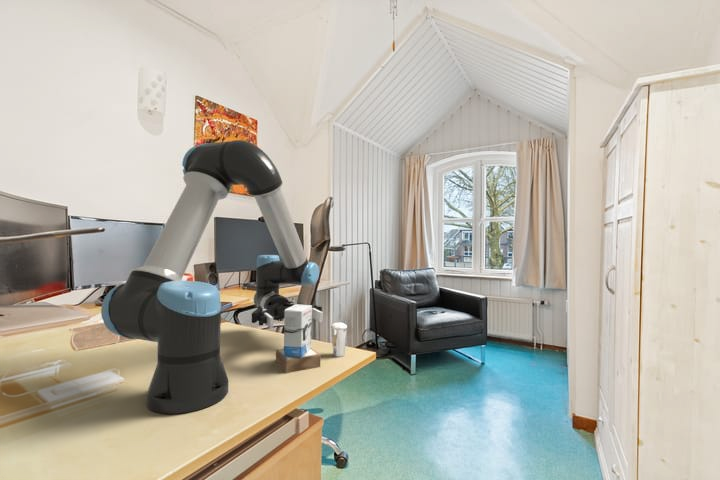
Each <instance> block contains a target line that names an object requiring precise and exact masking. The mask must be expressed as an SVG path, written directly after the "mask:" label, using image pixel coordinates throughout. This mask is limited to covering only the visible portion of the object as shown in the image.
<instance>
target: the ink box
mask: <svg viewBox="0 0 720 480" xmlns="http://www.w3.org/2000/svg"><path fill="white" fill-rule="evenodd" d="M294 304H295V305H293V306H291V307H289V308H287V309H285V311H284V318H283V319H284V322H283V323H284V324H283V325H284V326H283V328H284V330H283V332H284V333H283V334H284V335H283V348H284V356H289V357H302V356H303V355H304V354H305V353H306V352H307V351H308V350H309V349H310V348H312V331H313V330H312V328H313V327H312V326H313V325H312V324H313V323H312V319H313V318H312V305H313V304H311V305H310V304H306V305H300V304H298V303H297V304H296V303H294Z"/></svg>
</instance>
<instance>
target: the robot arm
mask: <svg viewBox="0 0 720 480" xmlns="http://www.w3.org/2000/svg"><path fill="white" fill-rule="evenodd" d="M181 166H182V167H183V169H182V173H183V176H182V177H183V182H184V183H185V186H184V188H183V191H182V192H181V195H180V196H179V197H178V199H177V202H176V204H175V206H174V208H173V209H172V212H171V213H170V215H169V217H168V218H167V221H166V222H165V224H164V225H163V228H162V230H161V232H160V233H159V236H158V238H157V240H156V241H155V243H154V244H153V247H152V249H151V251H150V252H149V255H148V256H147V258H146V260H145V262H144V264H143V265H142V266H140V267H137V268H134V269H132V270H131V272H130V274H129V276H128V277H127V279H126V281H125V283H121V284H118V285H117V286H115V287H113V288H111V289H110V290H109V291H108V293H106V295H105V297H103V298H104V299H103V300H102V304H101V310H100V314H101V318H102V320H103V321H102V322H103V324H104V326H105V327H106V329H107V330H109V332H111V333H113V334H114V335H117V336H121V337H123V338H125V339H126V338H127V339H129V340H136V339H137V340H142V341H147V342H152V343H153V342H154V343H157V363H156V364H157V365H156V367H155V369H154V372H153V375H152V378H151V379H150V380H151V381H150V384H149V386H148V388H147V389H148V390H147V391H146V392H147V393H146V406H147V408H148V409H149V410H150V411H152V412H154V413H159V414H165V415H167V414H172V415H174V414H175V415H176V414H183V413H184V414H185V413H190V412H194V411H198V410H202V409H205V408H208V407H211V406H213V405H214V404H217V403H219V402H220V401H222V400H223V399H224V398H225V397H226V396H227V395H228V394H229V377H228V375H227V372H226V369H225V366H224V363H223V360H222V357H221V325H222V322H221V321H222V320H221V319H222V315H221V314H222V303H221V295H220V294H221V293H220V290H219V289H218V287H216V286H215V285H214V284H211V283H207V282H203V281H197V280H195V281H190V280H183V278H184V275H185V273H186V271H187V269H188V266H189V264H190V263H191V259H192V258H193V256H194V253H195V252H196V250H197V248H198V246H199V243H200V242H201V241H200V240H201V238H202V236H203V234H204V231H205V230H206V229H207V225H208V223H209V221H210V220H211V217H212V216H213V213H214V211H215V208H216V206H217V204H218V202H219V201H220V200H224V199H226V198H227V196H228V195H229V193H230V190H231V189H232V187H233V186H238V185H242V186H244V188H246V190H247V192H248V195H250V196H251V197H254V199H255V201H256V204H257V207H258V208H259V210H260V213H261V215H262V217H263V219H264V222H265V224H266V226H267V229H268V231H269V233H270V235H271V236H270V237H271V238H272V240H273V243H274V245H275V248H276V250H277V252H278V255H277V254H262V255H261V254H260V255H258V256H257V258H256V267H255V269H256V276H255V277H256V282H255V283H256V288H255V293H254V296H253V304H254V306H255V307H256V309H255V310H254V311H253V312H251V323H253V324H255V323H257V322H258V326H264V325H266V326H267V327H268V328H269V329H274V321H281V320H283V319H284V311H285V309H287V308H289V307H291V306H293V305H295V304H296V303H290V301H289V299H288V298H287V297H286V296H284V295H281V294H280V285H293V286H296V285H297V286H302V287H303V286H314V285H315V284H316V283H317V281H318V280H319V277H320V268H319V265H318V264H317V263H316V262H312V261H308V260H309V259H308V258H307V255H306V251H305V250H304V247H303V244H302V242H301V240H300V237H299V234H298V231H297V228H296V226H295V223H294V220H293V218H292V214H291V211H290V210H289V207H288V204H287V202H286V199H285V197H284V193H283V191H282V186H283V180H282V177H281V175H280V173H279V171H278V169H277V167H276V165H275V163H274V162H273V161H272V159H271V158H270V157H269V155H267V153H266V152H264V151H263V150H262V149H261V148H260V147H259V146H257V145H256V144H254V143H253V142H250V141H247V140H242V139H235V140H229V141H219V142H210V143H209V142H207V143H205V142H204V143H202V144H199V145H195V146H193V147H191V148H189V149H188V150H187V151H186V152H185V154H184V156H183V159H182V164H181ZM280 259H281V260H280ZM297 304H300V305H307V304H305V303H303V302H298V303H297ZM311 305H312V319H314V320H315V321H317V322H319V323H323V322H324V312H323V308H322V307H323V306H319V305H317V304H315V305H313V304H311Z"/></svg>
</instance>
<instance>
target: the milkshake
mask: <svg viewBox="0 0 720 480" xmlns="http://www.w3.org/2000/svg"><path fill="white" fill-rule="evenodd" d="M350 320H351V319H350ZM350 320H349V322H350ZM348 325H349V324H345V323H344V322H334V323H332V325H330V332H331V344H332V355H333V357H336V358H341V357H344V356H345V355H346V341H347V330H348Z"/></svg>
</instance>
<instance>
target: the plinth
mask: <svg viewBox="0 0 720 480" xmlns="http://www.w3.org/2000/svg"><path fill="white" fill-rule="evenodd" d="M275 362H276V363H277V365H278V366H279V367H280V368H281V370H283V371H284V372H285V373H286V374H289V373H294V372H299V371H304V370H308V369H309V370H310V369H314V368H320V367H321V354H320V353H319V352H317V351H316V350H314V348H313V347H311V348H310V349H309V350H308V351H307V352H306V353H305V354H304V355H303V356H302V357H289V356H284V349H283V348H282V349H277V350H275Z"/></svg>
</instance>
